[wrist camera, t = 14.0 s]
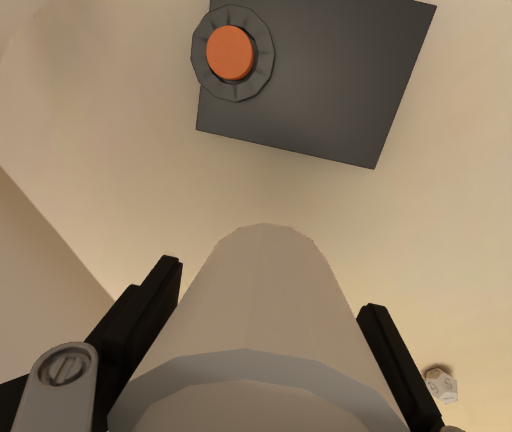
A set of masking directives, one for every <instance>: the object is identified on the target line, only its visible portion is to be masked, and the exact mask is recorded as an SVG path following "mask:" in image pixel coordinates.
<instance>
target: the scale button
mask: <svg viewBox="0 0 512 432" xmlns="http://www.w3.org/2000/svg"><path fill="white" fill-rule="evenodd" d="M206 56H207V60H208V63H209V65H210V67H211V69H212V70H213V71H214V72H215V73H216V74H217V75H219V76H220V77H222V78H225V79H228V80H239V79H242V78H243V77H245V76H246V75H247V74H248V73H249V72H250V70H251V68H252V66H253V63H254V50H253V46H252V44H251V42H250V40H249V38H248V36H247V35H246V34H245V33H244V32H243V31H242V30H241V29H240V28H238V27H235V26H231V25H226V26H222V27H220V28H218V29H216V30H215V31H214V32H213V33H212V34H211V36H210V38H209V40H208V43H207V47H206Z"/></svg>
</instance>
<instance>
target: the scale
mask: <svg viewBox="0 0 512 432" xmlns="http://www.w3.org/2000/svg"><path fill="white" fill-rule="evenodd" d="M436 8H437V6H436V5H431V4H427V3H423V2H418V1H414V0H210V8H209V12H208V13H207V14H206V15H205V16H204V18H203V19H202V21H201V22H200V24H199V25H198V27H197V28H196V30H195V31H194V33H193V38H192V48H191V62H192V65H193V68H194V70H195V73H196V76H197V79H198V81H199V83H200V84H201V87H200V96H199V105H198V113H197V122H196V130H199V131H203V132H208V133H212V134H217V135H221V136H226V137H230V138H235V139H239V140H243V141H248V142H252V143H257V144H261V145H266V146H270V147H275V148H279V149H284V150H288V151H293V152H297V153H301V154H306V155H310V156H315V157H319V158H324V159H328V160H333V161H337V162H342V163H346V164H350V165H355V166H359V167H364V168H368V169H373V170H374V169H375V167H376V164H377V162H378V159H379V156H380V154H381V151H382V149H383V146H384V143H385V141H386V138H387V136H388V133H389V130H390V128H391V125H392V123H393V120H394V117H395V115H396V112H397V110H398V107H399V104H400V102H401V99H402V97H403V94H404V91H405V89H406V86H407V84H408V81H409V78H410V76H411V73H412V71H413V68H414V65H415V63H416V60H417V58H418V55H419V52H420V50H421V47H422V45H423V42H424V39H425V37H426V34H427V32H428V29H429V26H430V24H431V21H432V19H433V16H434V13H435V11H436ZM226 25H231V26H235V27H238V28H240V29H241V30H242V31H243V32H244V33H245V34H246V35H247V36H248V38H249V40H250V42H251V44H252V46H253V50H254V63H253V66H252V68H251V70H250V72H249V73H248V74H247V75H246V76H245V77H243V78H242V79H239V80H228V79H225V78H222V77H220V76H219V75H217V74H216V73H215V72H214V71H213V70H212V69H211V67H210V65H209V63H208V60H207V56H206V47H207V43H208V40H209V38H210V36H211V34H212V33H213V32H214V31H215V30H216V29H218V28H220V27H222V26H226Z"/></svg>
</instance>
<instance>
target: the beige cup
mask: <svg viewBox="0 0 512 432" xmlns="http://www.w3.org/2000/svg"><path fill="white" fill-rule="evenodd" d="M107 421H108V430H109V432H410V429H409V427H408V425H407V423H406V421H405V419H404V417H403V415H402V413H401V411H400V409H399V407H398V405H397V403H396V401H395V399H394V397H393V395H392V393H391V391H390V389H389V386H388V384H387V382H386V380H385V378H384V376H383V374H382V372H381V370H380V368H379V366H378V364H377V362H376V360H375V358H374V356H373V354H372V352H371V350H370V348H369V346H368V344H367V342H366V340H365V337H364V335H363V333H362V331H361V329H360V327H359V325H358V323H357V321H356V319H355V317H354V315H353V313H352V311H351V309H350V307H349V305H348V303H347V301H346V299H345V297H344V295H343V293H342V290H341V288H340V286H339V284H338V282H337V280H336V278H335V276H334V274H333V272H332V270H331V268H330V266H329V264H328V262H327V260H326V258H325V257H324V255H323V254H322V253H321V251H320V250H319V249H318V247H317V246H316V245H315V243H314V242H313V240H311V239H310V238H308V237H306V236H305V235H303V234H301V233H299V232H298V231H296V230H294V229H293V228H291V227H286V226H280V225H274V224H268V223H261V224H256V225H251V226H246V227H241V228H238V229H236V230H235V231H233V232H232V233H230V234H229V235H227V236H226V237H224V238H223V239H221V240H220V241H219V242H218V243H217V245H216V246H215V248H214V250H213V251H212V253H211V254H210V256H209V257H208V259H207V260H206V262H205V264H204V265H203V267H202V268H201V270H200V271H199V273H198V274H197V276H196V277H195V279H194V281H193V282H192V284H191V285H190V287H189V288H188V290H187V291H186V293H185V294H184V296H183V298H182V299H181V301H180V302H179V304H178V305H177V307H176V308H175V310H174V312H173V313H172V315H171V316H170V318H169V319H168V321H167V322H166V324H165V325H164V327H163V329H162V330H161V332H160V333H159V335H158V336H157V338H156V339H155V341H154V342H153V344H152V346H151V347H150V349H149V350H148V352H147V353H146V355H145V356H144V358H143V359H142V361H141V363H140V364H139V366H138V367H137V369H136V370H135V372H134V373H133V375H132V377H131V378H130V380H129V381H128V383H127V384H126V386H125V388H124V389H123V391H122V393H121V394H120V396H119V398H118V399H117V401H116V402H115V404H114V406H113V407H112V409H111V411H110V412H109V414H108V416H107Z"/></svg>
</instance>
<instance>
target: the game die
mask: <svg viewBox="0 0 512 432" xmlns="http://www.w3.org/2000/svg"><path fill="white" fill-rule="evenodd" d="M426 386H427V388H428V390H429V392H430V393H431V394H432V395H433V396H434V397H436V398H437V399H438V400H440V401H441V402H443V403H445V404H449V403H452V402H455V401H458V393H457V380H455V379H454V378H452V377H451V376H449V375H448V374H446V373H445V372H443V371H442V370H440V369H439V368H435V369H433V370H430V371H427V375H426Z"/></svg>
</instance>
